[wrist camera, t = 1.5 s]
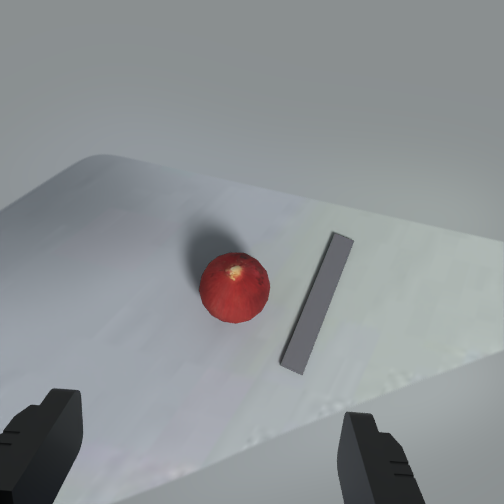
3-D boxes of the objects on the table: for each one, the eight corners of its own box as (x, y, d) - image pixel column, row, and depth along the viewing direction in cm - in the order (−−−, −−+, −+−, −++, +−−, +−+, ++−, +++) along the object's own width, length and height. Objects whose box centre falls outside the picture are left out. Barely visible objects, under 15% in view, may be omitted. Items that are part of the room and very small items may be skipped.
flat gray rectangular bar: (280, 365, 37) (280, 364, 37) (334, 234, 43) (334, 232, 42) (301, 375, 37) (302, 374, 36) (353, 242, 42) (354, 240, 42)
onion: (222, 262, 41) (222, 220, 34) (276, 290, 40) (287, 253, 33) (190, 313, 38) (181, 280, 31) (246, 345, 37) (251, 318, 30)
